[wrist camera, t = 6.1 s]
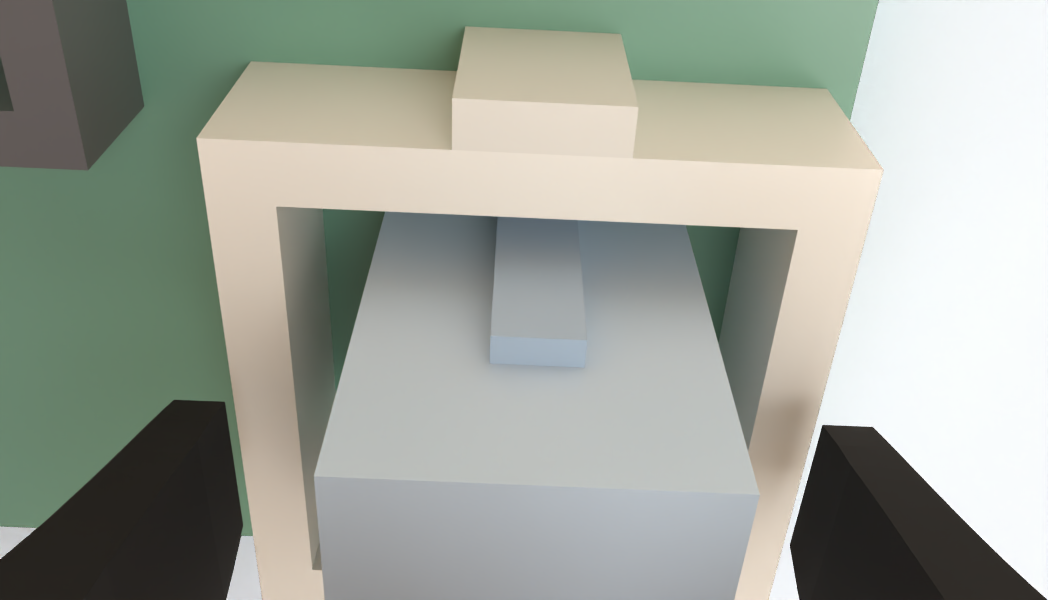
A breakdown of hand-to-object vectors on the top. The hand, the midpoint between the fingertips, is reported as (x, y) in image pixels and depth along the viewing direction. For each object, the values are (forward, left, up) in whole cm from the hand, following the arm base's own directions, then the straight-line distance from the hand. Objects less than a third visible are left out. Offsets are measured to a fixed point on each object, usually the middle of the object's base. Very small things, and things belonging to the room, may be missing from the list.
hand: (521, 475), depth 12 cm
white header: (0, 0, -4) cm, 4 cm away
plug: (0, 0, -4) cm, 4 cm away
